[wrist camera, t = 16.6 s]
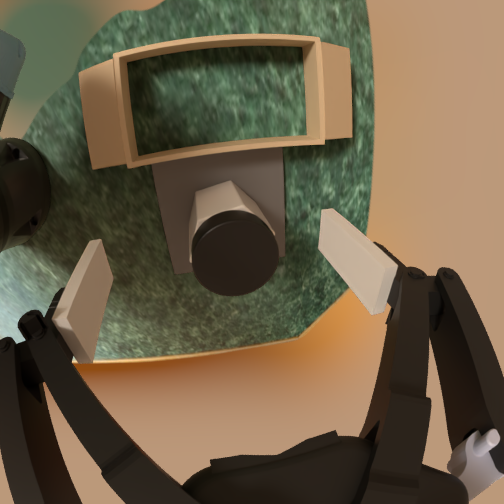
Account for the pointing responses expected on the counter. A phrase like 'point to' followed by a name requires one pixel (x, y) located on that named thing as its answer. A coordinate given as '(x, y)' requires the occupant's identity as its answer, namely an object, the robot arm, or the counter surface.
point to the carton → (125, 148)
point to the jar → (230, 241)
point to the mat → (212, 173)
